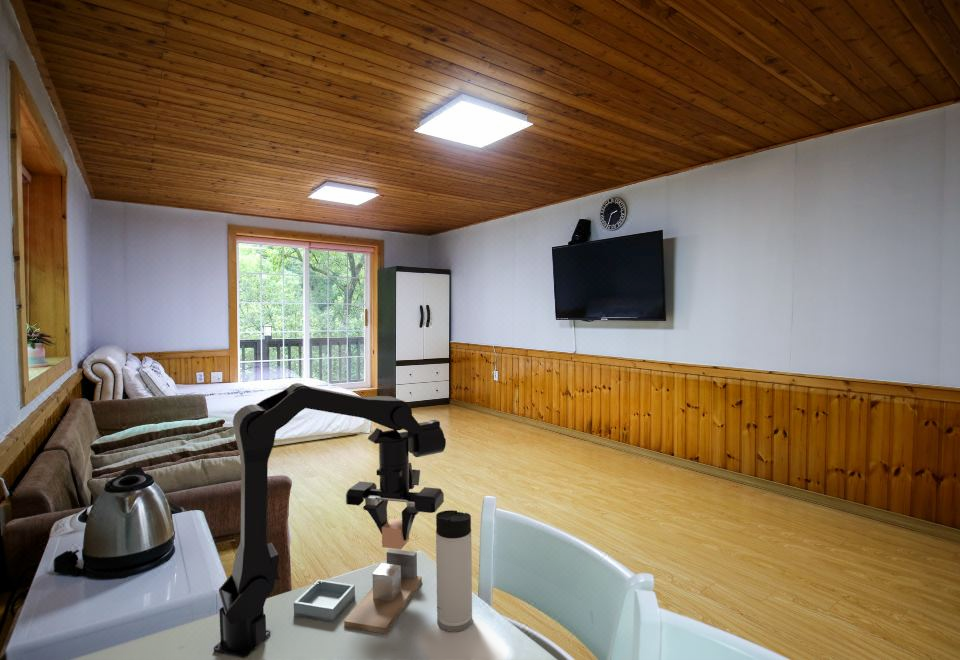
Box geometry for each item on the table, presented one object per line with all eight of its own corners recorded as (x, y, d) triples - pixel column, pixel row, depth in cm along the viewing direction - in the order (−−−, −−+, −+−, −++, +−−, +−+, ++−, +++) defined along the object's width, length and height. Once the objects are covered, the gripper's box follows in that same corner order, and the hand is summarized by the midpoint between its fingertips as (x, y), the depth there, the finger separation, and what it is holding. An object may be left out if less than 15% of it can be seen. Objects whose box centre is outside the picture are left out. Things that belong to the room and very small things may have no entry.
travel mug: (429, 627, 90) (427, 516, 89) (448, 607, 96) (447, 502, 95) (460, 637, 87) (458, 523, 86) (478, 616, 93) (477, 509, 92)
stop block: (382, 547, 100) (381, 527, 100) (390, 537, 104) (390, 518, 104) (401, 549, 99) (400, 529, 99) (409, 540, 103) (408, 520, 103)
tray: (294, 615, 93) (293, 602, 93) (318, 591, 101) (318, 579, 101) (333, 622, 91) (332, 609, 91) (355, 597, 99) (354, 584, 99)
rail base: (344, 626, 90) (343, 593, 90) (385, 576, 107) (385, 548, 106) (385, 633, 88) (385, 600, 88) (421, 581, 105) (421, 552, 104)
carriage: (373, 599, 97) (372, 573, 96) (382, 587, 101) (381, 562, 100) (392, 602, 96) (392, 576, 95) (401, 590, 100) (400, 565, 99)
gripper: (451, 452, 106) (452, 525, 107) (369, 446, 111) (371, 517, 112) (433, 470, 95) (434, 551, 96) (343, 462, 100) (345, 540, 101)
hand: (395, 538), depth 101 cm, fingers closed on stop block, 4 cm apart
